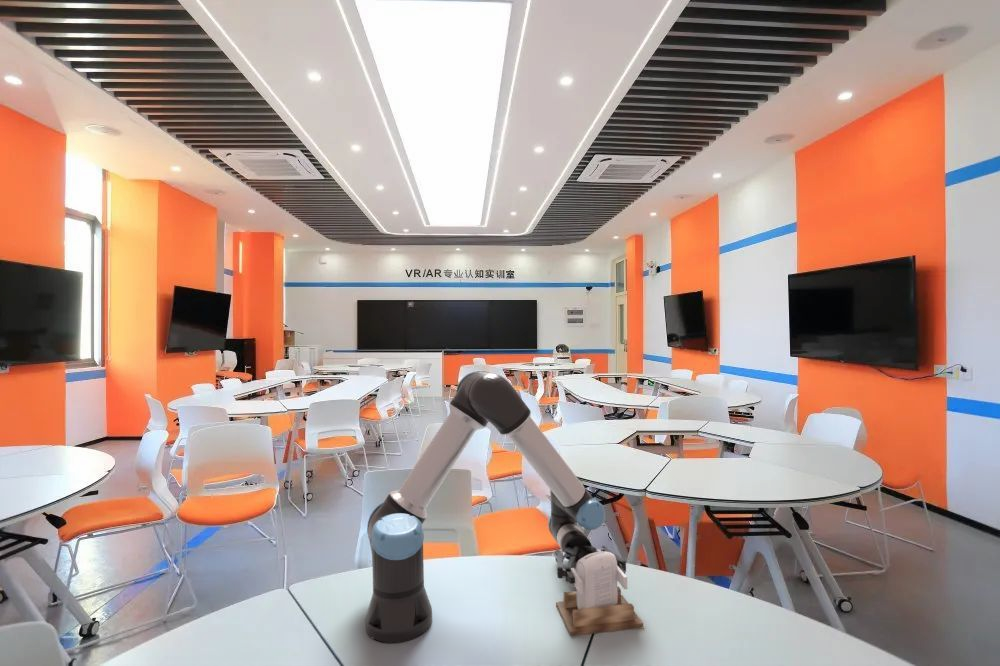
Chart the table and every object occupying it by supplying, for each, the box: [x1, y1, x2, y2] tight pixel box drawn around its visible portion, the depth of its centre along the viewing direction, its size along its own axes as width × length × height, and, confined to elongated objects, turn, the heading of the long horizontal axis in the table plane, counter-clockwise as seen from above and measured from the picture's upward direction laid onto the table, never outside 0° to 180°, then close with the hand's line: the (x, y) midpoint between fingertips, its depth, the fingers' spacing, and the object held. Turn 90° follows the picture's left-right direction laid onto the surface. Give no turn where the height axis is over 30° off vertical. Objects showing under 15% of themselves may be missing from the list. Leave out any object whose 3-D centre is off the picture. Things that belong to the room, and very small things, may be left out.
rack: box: [555, 586, 644, 637], centre depth 114 cm, size 17×12×4 cm
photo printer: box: [575, 551, 618, 609], centre depth 114 cm, size 10×4×12 cm, turn 116°
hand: (603, 585), depth 110 cm, fingers closed on photo printer, 10 cm apart
